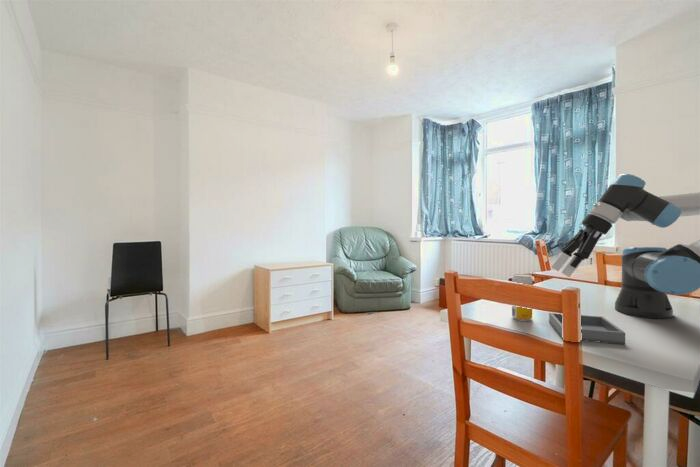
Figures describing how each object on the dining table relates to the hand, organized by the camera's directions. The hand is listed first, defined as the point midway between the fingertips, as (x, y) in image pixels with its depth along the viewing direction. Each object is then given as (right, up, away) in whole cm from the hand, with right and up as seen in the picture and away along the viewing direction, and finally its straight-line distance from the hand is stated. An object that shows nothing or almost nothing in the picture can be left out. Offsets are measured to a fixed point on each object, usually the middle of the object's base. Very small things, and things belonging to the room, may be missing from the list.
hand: (559, 271), depth 109 cm
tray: (-2, -17, -14) cm, 21 cm away
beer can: (-13, -16, 0) cm, 21 cm away
